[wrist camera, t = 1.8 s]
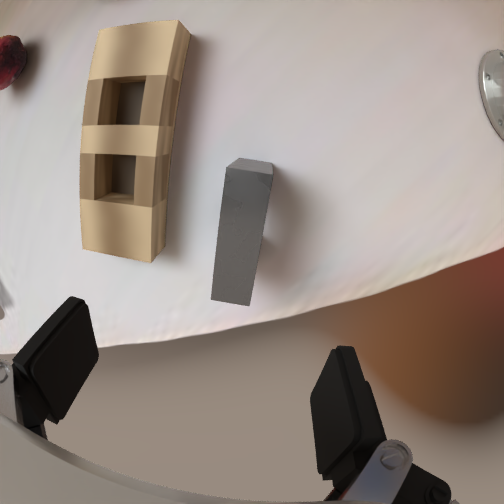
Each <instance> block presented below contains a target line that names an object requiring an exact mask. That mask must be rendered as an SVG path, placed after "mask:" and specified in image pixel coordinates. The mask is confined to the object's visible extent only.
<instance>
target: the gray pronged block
mask: <svg viewBox="0 0 504 504" xmlns="http://www.w3.org/2000/svg"><path fill="white" fill-rule="evenodd" d="M272 179H273V168H272V163H269V162H263V161H257V160H250V159H244V158H238V159H237V160H236V161H234V162H233V163H232V164H230V165H229V166H228V167H226V174H225V182H224V189H223V197H222V204H221V212H220V220H219V229H218V237H217V246H216V255H215V264H214V274H213V284H212V294H211V300H216V301H221V302H227V303H233V304H239V305H245V306H250V301H251V295H252V290H253V285H254V279H255V274H256V268H257V263H258V257H259V252H260V246H261V240H262V235H263V229H264V224H265V218H266V213H267V207H268V201H269V196H270V190H271V184H272Z"/></svg>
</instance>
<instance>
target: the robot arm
mask: <svg viewBox="0 0 504 504" xmlns="http://www.w3.org/2000/svg"><path fill="white" fill-rule="evenodd" d="M479 84H480V90H481V96H482V99H483V103H484V106H485V109H486V112H487V115H488V117H489V119H490V121H491V123H492V125H493V127H494V128H495V130H496V131H497V133H498V134H499V135H500V136H501V138H502V139H503V140H504V51H503V50H492V51H489V52H487V53H486V54H485V55H484V56H483V58H482V60H481V63H480V68H479ZM98 357H99V353H98V349H97V345H96V341H95V336H94V332H93V328H92V323H91V318H90V313H89V308H88V305H87V304H86V303H85V301H84V300H83V299H80V298H76V297H73V296H71V297H69V298H68V299H67V300H66V301H65V302H64V303H63V304H62V305H61V306H60V307H59V308H58V309H57V310H56V311H55V312H54V313H53V314H52V315H51V317H50V318H49V319H48V320H47V321H46V322H45V323H44V324H43V325H42V326H41V327H40V328H39V330H38V331H37V332H36V333H35V334H34V335H33V336H32V337H31V338H30V340H29V341H28V342H27V343H26V344H25V345H24V346H23V348H22V349H21V350H20V351H19V352H18V354H17V355H16V356H15V357H14V359H13V362H14V363H13V364H12V365H11V364H10V363H9V362H8V361H7V360H3V359H0V504H459V503H458V502H457V501H456V500H453V501H452V500H451V490H450V487H449V485H448V484H447V483H446V482H444V481H443V480H441V479H439V478H438V477H436V476H434V475H432V474H430V473H429V472H427V471H425V470H423V469H422V468H420V467H418V466H416V465H415V464H413V463H412V461H413V457H412V452H411V450H410V449H409V447H408V446H407V445H406V444H405V443H403V442H401V441H399V440H392V439H391V440H387V439H386V435H385V432H384V428H383V425H382V421H381V419H380V415H379V412H378V409H377V405H376V402H375V399H374V396H373V393H372V390H371V387H370V384H369V382H368V381H365V379H364V376H363V373H362V370H361V367H360V364H359V361H358V358H357V355H356V352H355V349H354V347H352V346H337V348H336V349H332V350H331V352H330V355H329V357H328V359H327V361H326V363H325V366H324V368H323V370H322V372H321V375H320V376H319V379H318V381H317V383H316V385H315V387H314V389H313V391H312V393H311V397H310V404H311V413H312V421H313V430H314V439H315V449H316V459H317V469H318V473H319V474H322V477H323V480H333V487H334V489H333V490H332V491H331V492H330V493H329V495H328V496H327V497H326V498H325V499H324V501H317V502H269V501H251V500H240V499H239V500H238V499H230V498H222V497H215V496H209V495H203V494H197V493H191V492H186V491H182V490H177V489H173V488H168V487H164V486H161V485H157V484H153V483H150V482H146V481H143V480H139V479H136V478H133V477H130V476H127V475H124V474H121V473H119V472H116V471H113V470H111V469H108V468H105V467H103V466H100V465H98V464H95V463H93V462H91V461H88V460H86V459H84V458H82V457H79V456H77V455H75V454H73V453H71V452H69V451H67V450H65V449H63V448H61V447H59V446H57V445H55V444H53V443H51V442H49V441H48V439H47V435H46V431H45V426H44V421H45V419H47V420H49V421H51V422H53V423H55V424H58V422H59V420H61V419H63V418H64V417H65V415H66V413H67V412H68V410H69V408H70V406H71V405H72V403H73V401H74V399H75V398H76V396H77V394H78V392H79V391H80V389H81V387H82V386H83V384H84V382H85V380H86V379H87V377H88V376H89V374H90V372H91V371H92V369H93V367H94V366H95V364H96V363H97V361H98Z"/></svg>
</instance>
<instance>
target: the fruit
mask: <svg viewBox="0 0 504 504" xmlns="http://www.w3.org/2000/svg"><path fill="white" fill-rule="evenodd" d="M26 58H27V53H26V50H25V48H24V47H23V45H22V43H21V40H20V38H19V37H17V36H11V35H7V36H3V37H0V90H2V89H5V88H6V87H8V86H9V85H11V83H12V82H13V81H14V80H15V79H17V77H18V76H19V75H20V73H21V70H22V69H23V67H24V66H25V64H26Z"/></svg>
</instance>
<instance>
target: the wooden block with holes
mask: <svg viewBox="0 0 504 504" xmlns="http://www.w3.org/2000/svg"><path fill="white" fill-rule="evenodd" d="M190 36H191V34H190V32H189V31H188V30H187V29H186V28H185V27H184V26H183V24H182V23H181V22H180V21H179V20H168V21H155V22H145V23H137V24H130V25H123V26H117V27H111V28H106V29H101V30H99V33H98V37H97V41H96V45H95V49H94V53H93V58H92V63H91V68H90V73H89V78H88V84H87V91H86V98H85V105H84V113H83V123H82V134H81V150H80V218H81V233H82V245H83V249H85V250H89V251H94V252H99V253H104V254H109V255H114V256H118V257H123V258H128V259H133V260H139V261H144V262H149V263H151V262H152V261H153V260H154V259H155V258H156V256H157V255H158V254H159V253H160V252H161V251H162V249H163V248H164V247H165V233H166V212H167V197H168V184H169V172H170V162H171V152H172V143H173V135H174V127H175V119H176V112H177V105H178V99H179V93H180V87H181V81H182V75H183V70H184V64H185V59H186V54H187V49H188V45H189V40H190Z"/></svg>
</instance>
